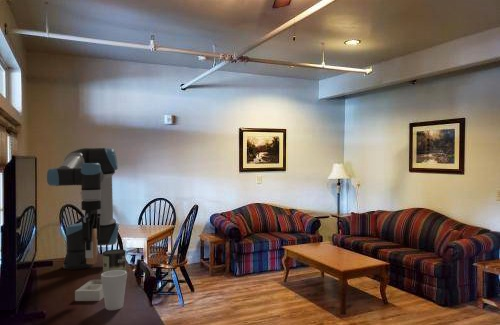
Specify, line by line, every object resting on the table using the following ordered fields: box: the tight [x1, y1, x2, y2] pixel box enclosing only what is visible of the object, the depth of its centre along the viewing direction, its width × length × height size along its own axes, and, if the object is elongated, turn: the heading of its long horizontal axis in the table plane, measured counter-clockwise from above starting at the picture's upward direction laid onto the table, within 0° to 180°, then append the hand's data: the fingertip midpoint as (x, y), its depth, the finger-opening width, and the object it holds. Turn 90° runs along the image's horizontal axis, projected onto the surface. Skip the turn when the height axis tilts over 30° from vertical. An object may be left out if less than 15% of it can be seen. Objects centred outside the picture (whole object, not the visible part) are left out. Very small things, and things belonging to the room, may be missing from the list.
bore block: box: [74, 278, 104, 302], centre depth 162 cm, size 16×10×4 cm, turn 179°
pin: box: [86, 229, 98, 265], centre depth 158 cm, size 4×4×14 cm
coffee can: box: [102, 248, 127, 273], centre depth 180 cm, size 10×10×14 cm
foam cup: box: [100, 270, 128, 311], centre depth 147 cm, size 10×9×13 cm
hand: (91, 256), depth 158 cm, fingers closed on pin, 4 cm apart
